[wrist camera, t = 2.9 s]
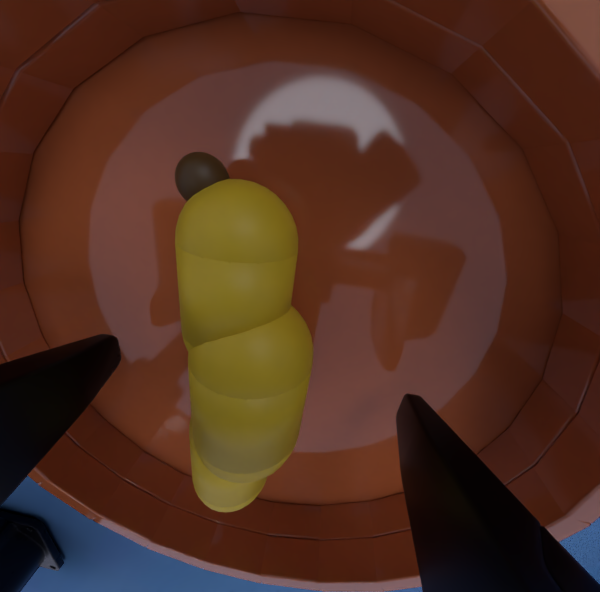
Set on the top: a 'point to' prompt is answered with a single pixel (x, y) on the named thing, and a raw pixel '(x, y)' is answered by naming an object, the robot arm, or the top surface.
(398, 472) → the bowl
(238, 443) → the banana
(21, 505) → the top surface
